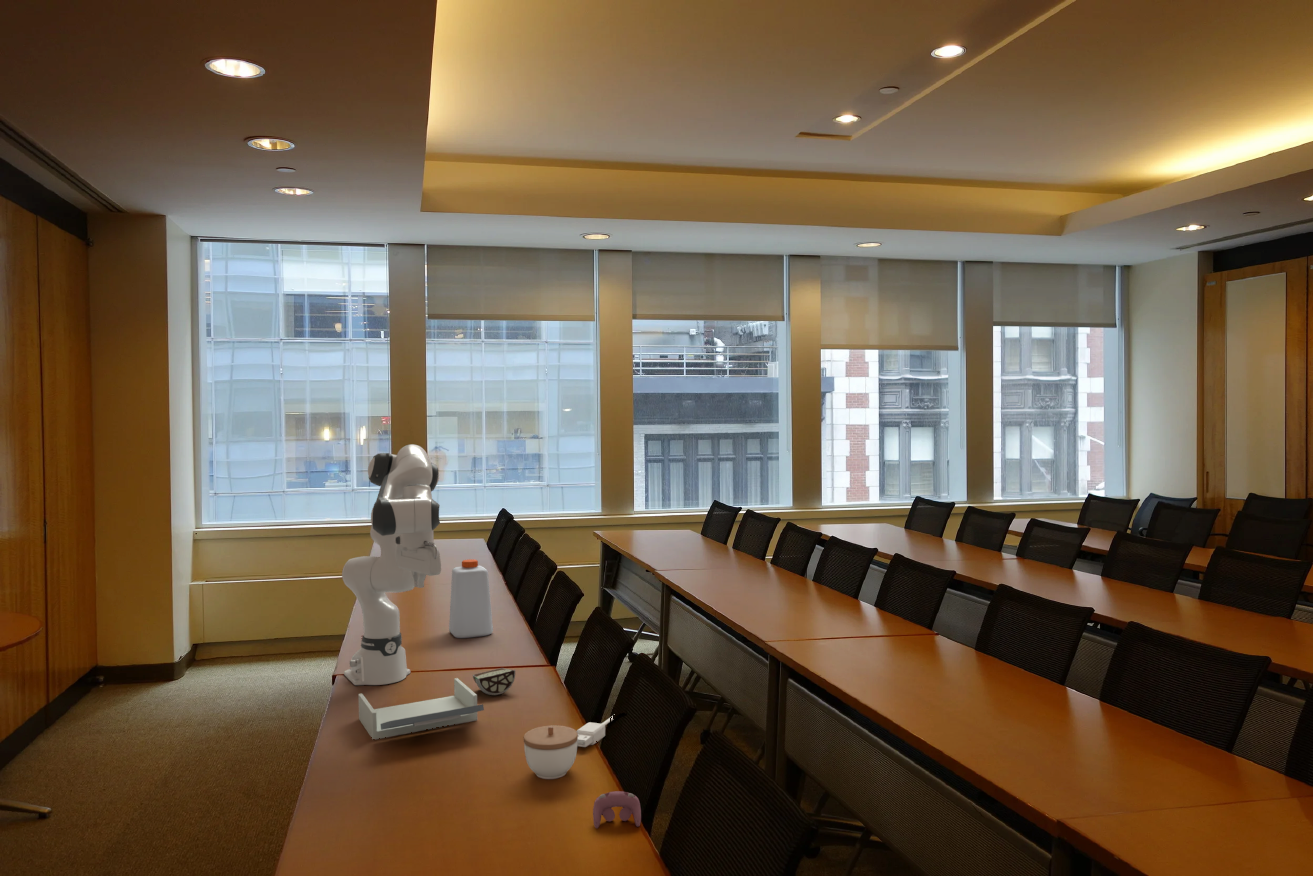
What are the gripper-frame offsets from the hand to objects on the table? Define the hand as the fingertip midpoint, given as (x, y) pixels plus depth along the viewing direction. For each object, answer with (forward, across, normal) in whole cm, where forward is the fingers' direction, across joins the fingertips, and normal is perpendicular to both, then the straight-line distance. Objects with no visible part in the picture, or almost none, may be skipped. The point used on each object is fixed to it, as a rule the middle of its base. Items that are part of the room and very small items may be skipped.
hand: (418, 587), depth 257 cm
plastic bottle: (+34, +60, -54) cm, 88 cm away
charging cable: (+35, -54, -24) cm, 68 cm away
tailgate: (+32, -21, +10) cm, 39 cm away
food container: (+32, -1, -22) cm, 39 cm away
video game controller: (+35, -97, +8) cm, 103 cm away
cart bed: (+34, -12, +8) cm, 37 cm away
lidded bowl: (+34, -67, +3) cm, 75 cm away
